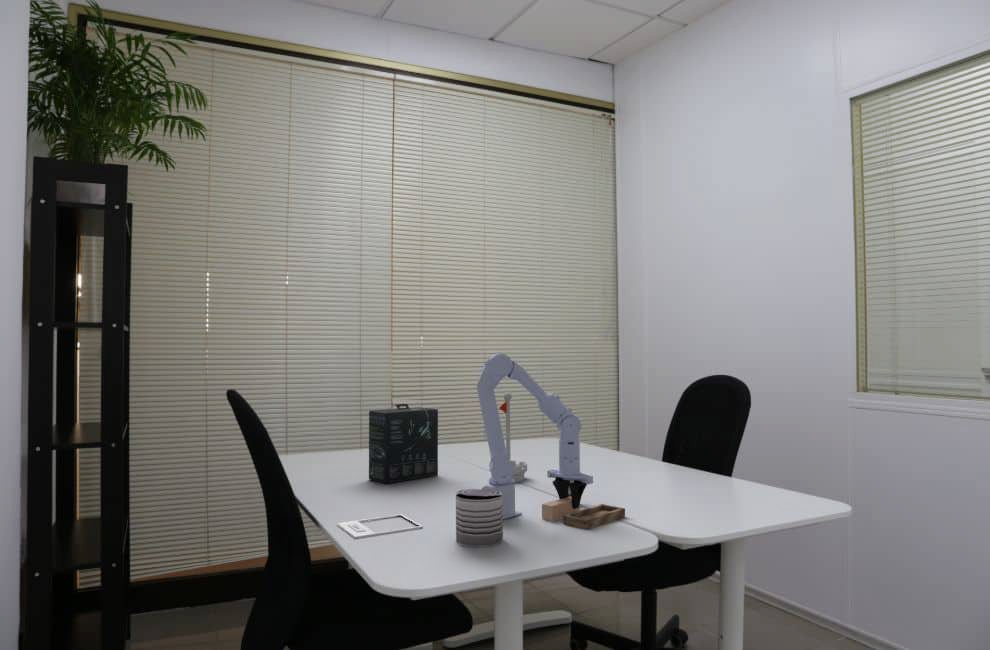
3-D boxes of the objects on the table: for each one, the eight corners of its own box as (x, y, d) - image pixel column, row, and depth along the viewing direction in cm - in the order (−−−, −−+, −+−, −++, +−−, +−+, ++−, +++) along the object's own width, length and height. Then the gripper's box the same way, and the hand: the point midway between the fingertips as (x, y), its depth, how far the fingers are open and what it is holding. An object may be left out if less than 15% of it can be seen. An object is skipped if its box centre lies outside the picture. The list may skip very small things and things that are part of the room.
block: (552, 521, 180) (551, 506, 180) (542, 519, 182) (541, 504, 182) (580, 513, 188) (579, 498, 188) (570, 510, 190) (570, 496, 191)
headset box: (419, 471, 252) (419, 401, 253) (439, 475, 243) (439, 403, 244) (367, 479, 237) (366, 405, 238) (386, 484, 228) (386, 407, 229)
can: (445, 541, 163) (445, 490, 163) (480, 531, 171) (480, 483, 171) (478, 551, 154) (478, 497, 155) (513, 540, 162) (512, 489, 163)
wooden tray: (586, 529, 171) (586, 520, 171) (563, 524, 177) (563, 515, 177) (625, 516, 183) (624, 508, 183) (602, 512, 189) (602, 504, 189)
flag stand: (503, 474, 245) (502, 390, 246) (534, 477, 238) (533, 391, 238) (482, 480, 235) (481, 392, 235) (513, 484, 227) (512, 394, 228)
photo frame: (336, 522, 178) (401, 513, 187) (336, 526, 178) (401, 517, 187) (354, 535, 165) (423, 525, 174) (354, 540, 165) (423, 529, 174)
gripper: (599, 458, 186) (600, 508, 185) (558, 452, 196) (559, 500, 196) (583, 461, 181) (584, 513, 180) (542, 455, 191) (542, 504, 191)
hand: (570, 506), depth 188 cm, fingers closed on block, 3 cm apart
